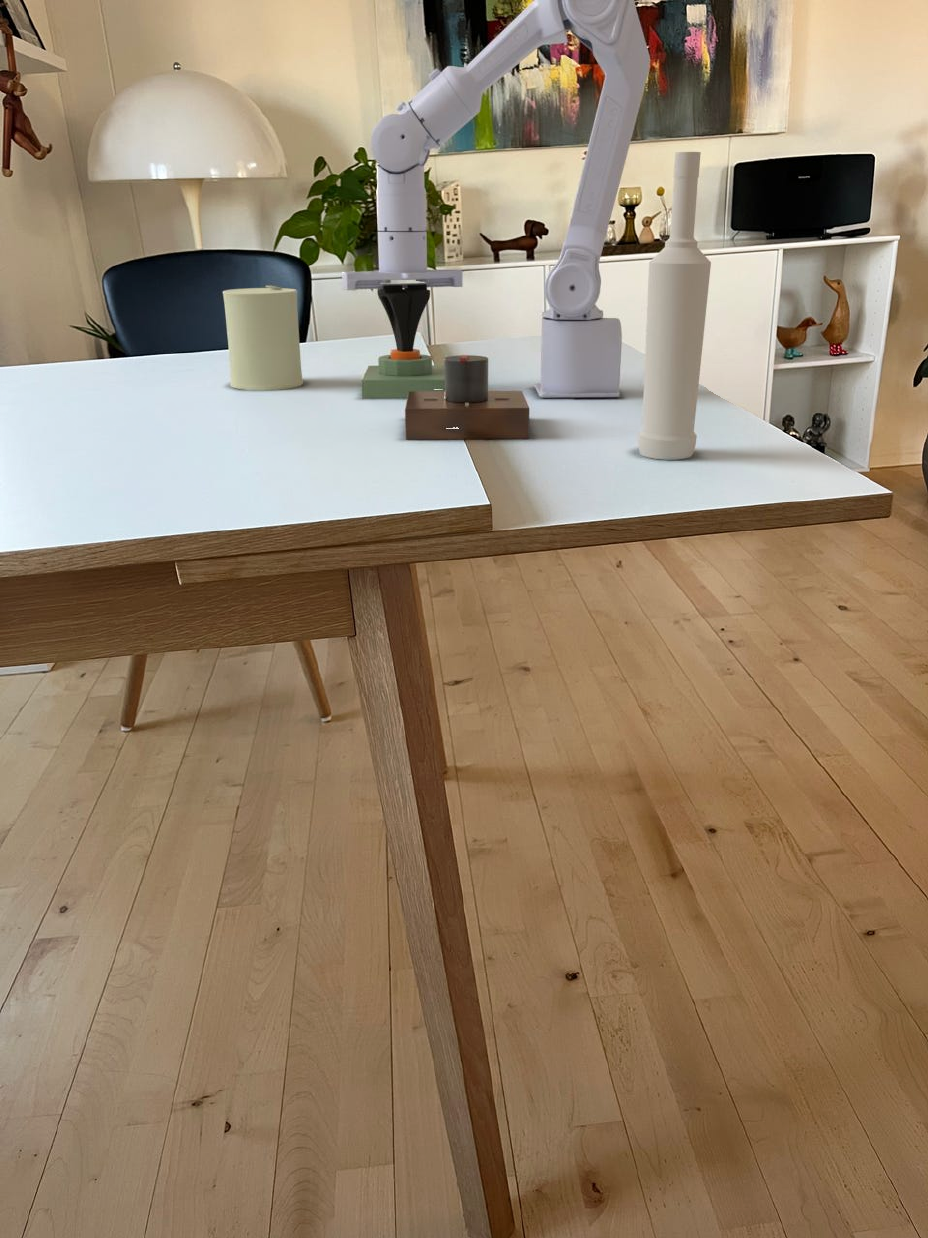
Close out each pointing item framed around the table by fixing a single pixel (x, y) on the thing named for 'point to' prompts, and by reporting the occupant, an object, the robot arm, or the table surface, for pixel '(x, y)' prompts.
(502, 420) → the dial panel
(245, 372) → the can
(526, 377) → the table surface
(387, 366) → the green button base
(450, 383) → the dial
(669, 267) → the bottle
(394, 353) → the button
